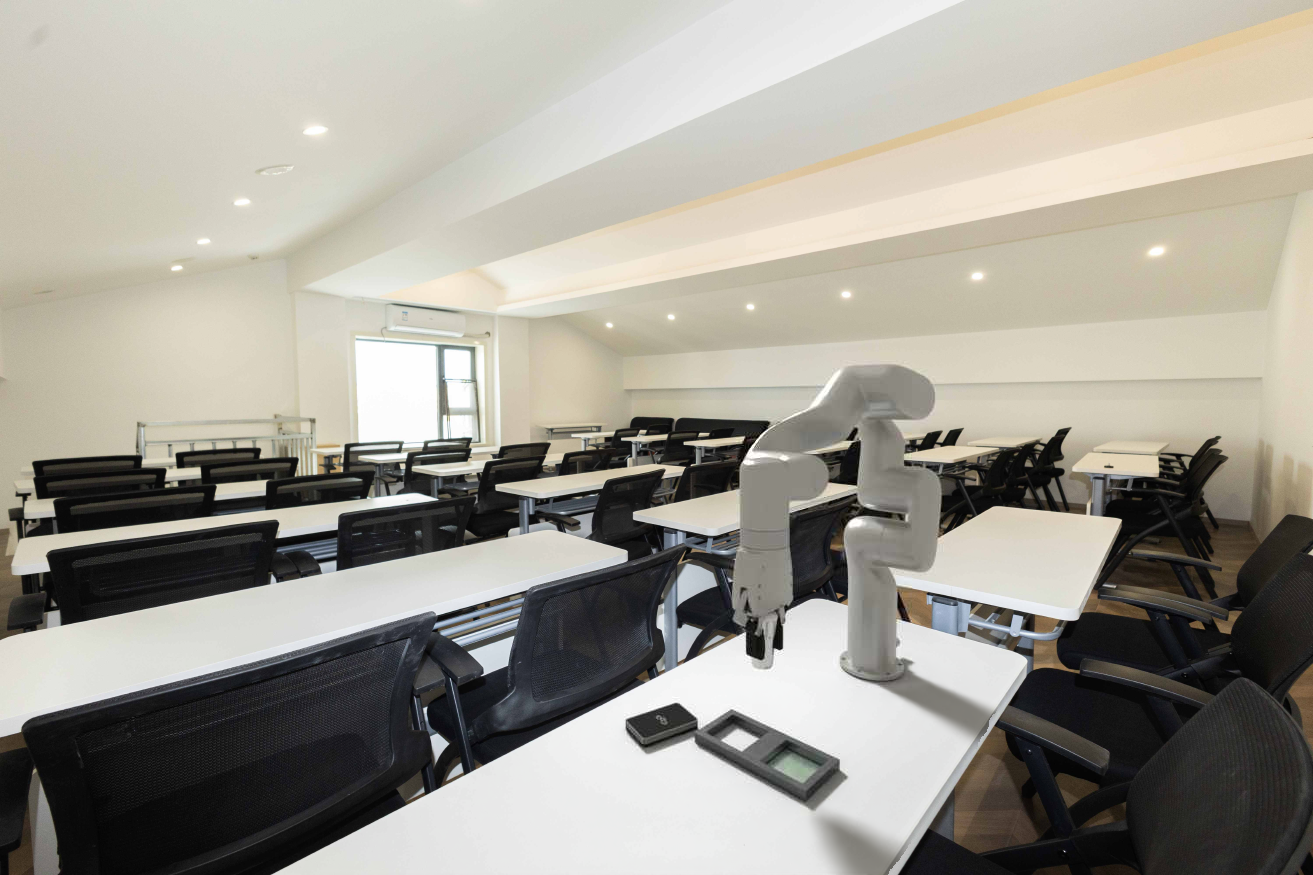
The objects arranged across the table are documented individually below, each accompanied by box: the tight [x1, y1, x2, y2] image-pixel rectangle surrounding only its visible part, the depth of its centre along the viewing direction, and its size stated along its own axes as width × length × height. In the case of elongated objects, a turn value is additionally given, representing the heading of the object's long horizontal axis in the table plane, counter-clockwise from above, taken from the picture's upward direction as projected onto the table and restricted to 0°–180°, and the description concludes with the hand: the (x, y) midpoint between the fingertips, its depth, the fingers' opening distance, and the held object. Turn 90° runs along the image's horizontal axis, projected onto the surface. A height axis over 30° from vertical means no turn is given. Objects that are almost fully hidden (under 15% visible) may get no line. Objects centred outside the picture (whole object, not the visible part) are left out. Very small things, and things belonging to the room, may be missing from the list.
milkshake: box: [750, 605, 783, 671], centre depth 93 cm, size 4×5×10 cm
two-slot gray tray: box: [694, 708, 841, 803], centre depth 94 cm, size 10×21×2 cm, turn 45°
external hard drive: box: [625, 702, 699, 749], centre depth 102 cm, size 7×11×2 cm, turn 120°
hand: (764, 650), depth 93 cm, fingers closed on milkshake, 4 cm apart
